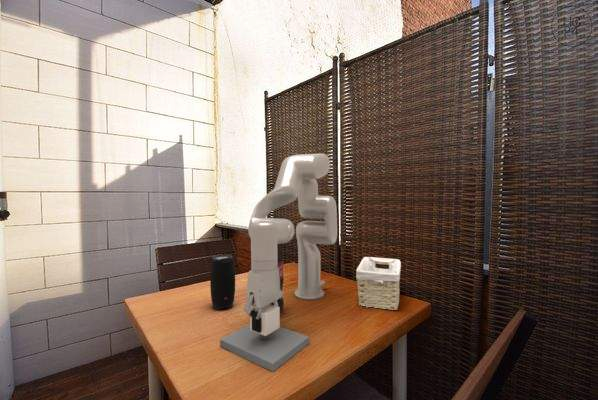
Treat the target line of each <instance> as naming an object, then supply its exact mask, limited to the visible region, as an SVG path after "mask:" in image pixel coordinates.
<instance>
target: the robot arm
mask: <svg viewBox="0 0 598 400" xmlns="http://www.w3.org/2000/svg"><path fill="white" fill-rule="evenodd" d="M330 161H331V160H330V158H329V156H328V155H327V154H325V153H305V154H304V153H303V154H292V155H291V156H287V157H286V158H284V159H283V161H282V163H281V166H280V169H279V172H278V174H277V179H276V181H275V185H274V188H273V189H272V190H271V191H270V192H268V193H267V194H266V195H265V196H263V197H262V199H260V200H259V202H257V204H256V205H255V206H254V209H253V210H252V212H251V213H252V214H251V217H250V220H249V223H248V231H247V232H248V236H249V238H250V270H249V271H248V276H247V282H246V293H245V294H246V296H245V297H246V298H245V302H246V303H245V304H244V307H243V308H242V310H243V311H244V312H245V313H247V314H248V315H249V318H250V317H252V330H253V331H256V332H258V333H260V332H261V318H260V314H261V310H262V307H264V306H266V305H269V304H271V305H274V306H277V307H279V306H278V305H279V303H280V299H281V297H283V295H284V292H283V290H282V291H281V290H280V277H279V270H278V258H277V244H278V245H280V244H286V243H289V242H290V241H291V240H292V239H293V238H294V235H295V236H296V240H297V252H298V253H297V254H298V255H297V256H298V257H297V259H298V265H297V266H298V267H297V269H298V270H297V271H298V274H297V275H298V276H297V277H298V280H297V282H298V284H297V285H298V287H297V288H296V290H295V291H294V295H295V297H296V298H299V299H302V300H309V301H310V300H317V299H321V298H323V297H324V296H325V290H323V289H322V286H324V285H325V284H326V282H325V280H321V259H322V258H321V252H320V250H319V248H318V246H317V245H327V246H328V245H333V244H335V243H337V238H338V212H337V211H338V210H337V209H338V208H337V203H336V199H335V198H334V197H333V196H331V195H319V184H318V181H317V180H318V179H321V178H323V177H325V176H326V175H328V173H329V171H330V167H331V162H330ZM296 200H298V203H297V204H298V206H297V207H298V214H299V215H300V216H301V218H305V219H323V220H324V221H319V220H304V221H303V220H302V221H301V222H298V223H297V225H296V226H294V223H293V222H292V221H291V220H290V219H286V218H276V217H274V218H273V217H268V215H269V214H270V213H271V212H273V211H274V210H276V209H279V208H281V207H284V206H286V205H287V204H291V203H293V202H294V201H296ZM295 227H296V228H295ZM255 309H257V313H256V312H255Z"/></svg>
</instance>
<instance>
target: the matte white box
mask: <svg viewBox="0 0 598 400" xmlns="http://www.w3.org/2000/svg"><path fill="white" fill-rule="evenodd" d="M255 312H256V313H257V309H255ZM280 315H281V313H280V307H277V306H274V305H271V304H269V305H266V306H264V307H262V310H261V314H260V318H261V332H260V333H259V334H261V335H264V336H267V335H268V334H270V333H272V332H273V331H275V330H277V329H278V328H280V327H281V325H280V323H281V322H280V321H281V320H280V317H281V316H280ZM249 324H250V330H251V331H253V330H252V317H250V316H249ZM254 332H256V331H254ZM256 333H258V332H256Z"/></svg>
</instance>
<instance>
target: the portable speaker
mask: <svg viewBox="0 0 598 400" xmlns="http://www.w3.org/2000/svg"><path fill="white" fill-rule="evenodd" d="M209 274H210V275H209V276H210V279H209V280H210V282H209V283H210V285H209V286H210V287H209V289H210V297H211V305H212V308H213V310H215V311H221V309H225V308H226V309H229V310H230V309H232V308H233V307H234V301H235V295H236V268H235V261H234V256H233V255H232V254H228V253H226V254H221V255H213V256H212V257H211V265H210V273H209Z"/></svg>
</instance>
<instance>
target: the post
mask: <svg viewBox="0 0 598 400" xmlns="http://www.w3.org/2000/svg"><path fill="white" fill-rule="evenodd" d="M270 338H271V333H270V334H268V335H267V336H264V335H261V334H259V339H260V340H261V341H268V340H270Z"/></svg>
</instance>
